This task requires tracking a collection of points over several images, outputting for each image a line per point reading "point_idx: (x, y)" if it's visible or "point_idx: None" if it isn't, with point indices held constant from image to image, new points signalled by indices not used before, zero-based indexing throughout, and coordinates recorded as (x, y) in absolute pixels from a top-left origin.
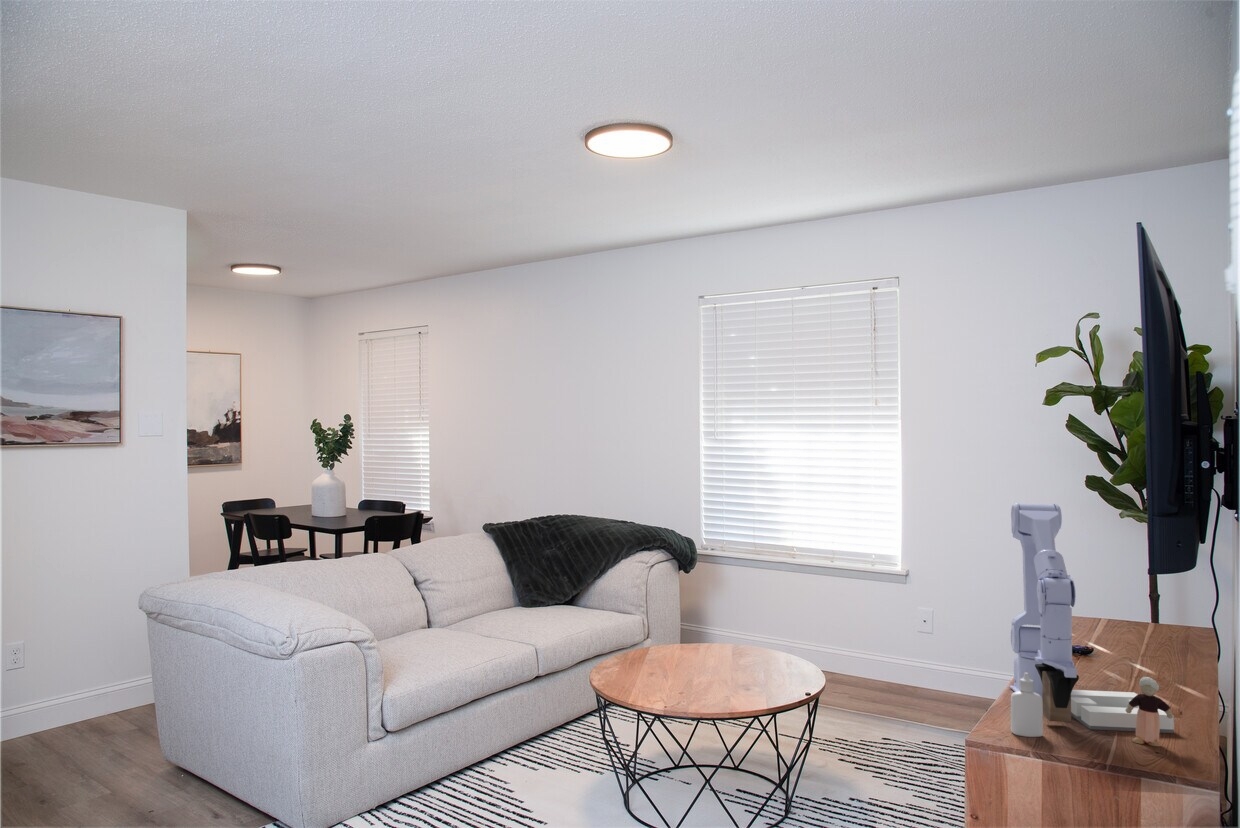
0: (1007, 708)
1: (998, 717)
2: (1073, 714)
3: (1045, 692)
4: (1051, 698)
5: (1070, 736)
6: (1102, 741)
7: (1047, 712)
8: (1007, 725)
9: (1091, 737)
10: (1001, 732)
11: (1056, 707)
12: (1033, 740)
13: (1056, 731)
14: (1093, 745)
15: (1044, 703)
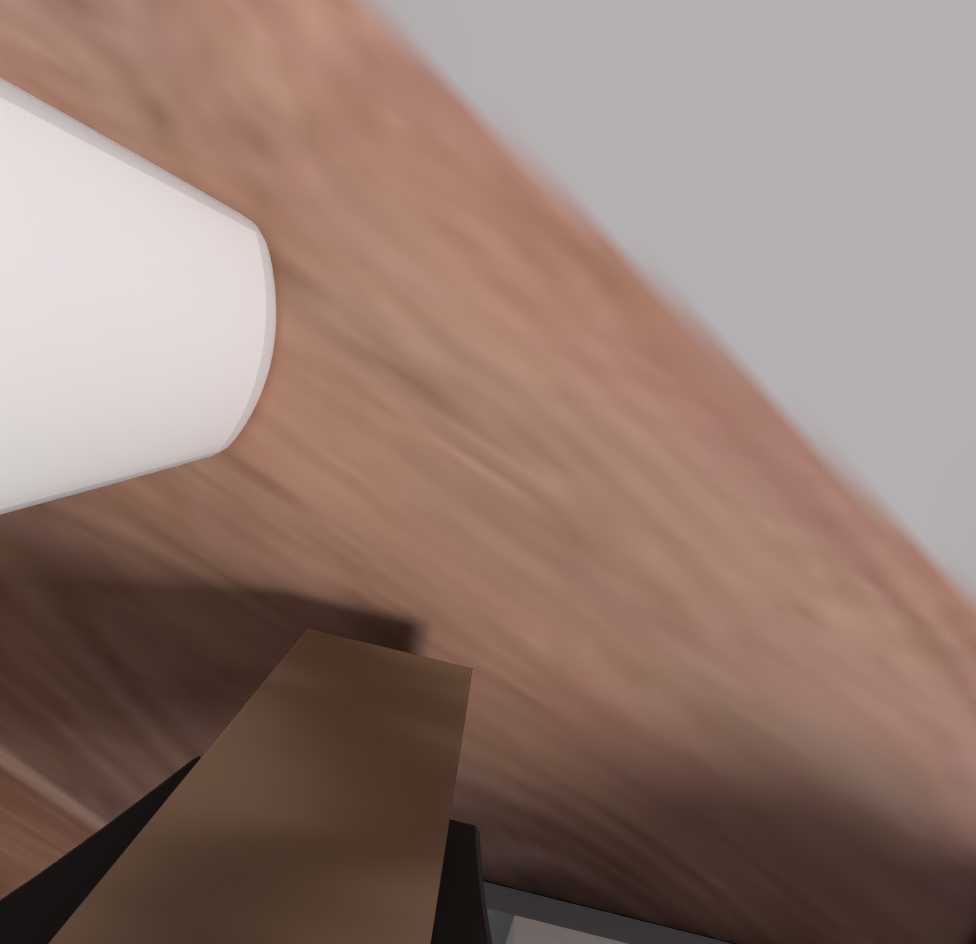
0: (863, 577)
1: (646, 348)
2: (569, 923)
3: (317, 875)
4: (168, 812)
5: (180, 634)
6: (98, 765)
7: (346, 677)
8: (430, 301)
9: (168, 751)
10: (250, 126)
11: (198, 756)
12: None
13: (281, 607)
14: (16, 665)
15: (398, 743)
